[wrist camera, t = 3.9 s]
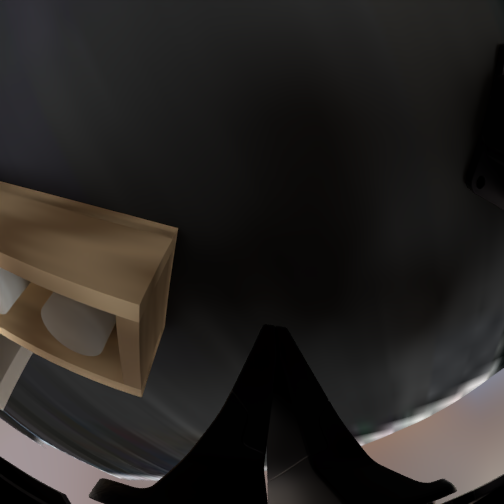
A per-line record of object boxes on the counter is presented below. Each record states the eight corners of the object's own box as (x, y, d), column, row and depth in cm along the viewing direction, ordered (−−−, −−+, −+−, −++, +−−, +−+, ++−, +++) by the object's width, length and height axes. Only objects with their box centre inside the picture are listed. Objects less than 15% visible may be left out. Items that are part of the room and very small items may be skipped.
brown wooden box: (178, 227, 10) (139, 305, 7) (165, 326, 13) (141, 397, 10) (-6, 179, 9) (-63, 219, 5) (10, 268, 12) (-28, 314, 8)
